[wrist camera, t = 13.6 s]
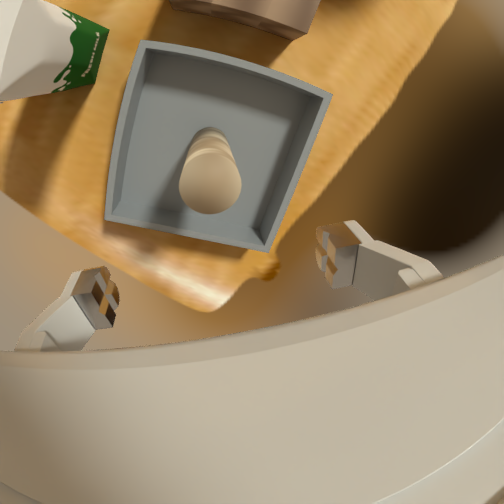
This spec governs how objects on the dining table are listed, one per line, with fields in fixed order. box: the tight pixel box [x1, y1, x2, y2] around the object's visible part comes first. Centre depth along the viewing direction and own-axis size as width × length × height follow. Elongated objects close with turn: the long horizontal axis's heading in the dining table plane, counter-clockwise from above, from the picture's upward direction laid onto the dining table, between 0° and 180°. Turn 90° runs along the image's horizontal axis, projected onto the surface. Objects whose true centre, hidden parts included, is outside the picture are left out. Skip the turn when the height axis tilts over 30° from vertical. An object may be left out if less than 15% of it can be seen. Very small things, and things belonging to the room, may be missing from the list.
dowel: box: [179, 127, 241, 214], centre depth 23 cm, size 4×4×14 cm
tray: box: [104, 40, 333, 253], centre depth 27 cm, size 20×20×5 cm
